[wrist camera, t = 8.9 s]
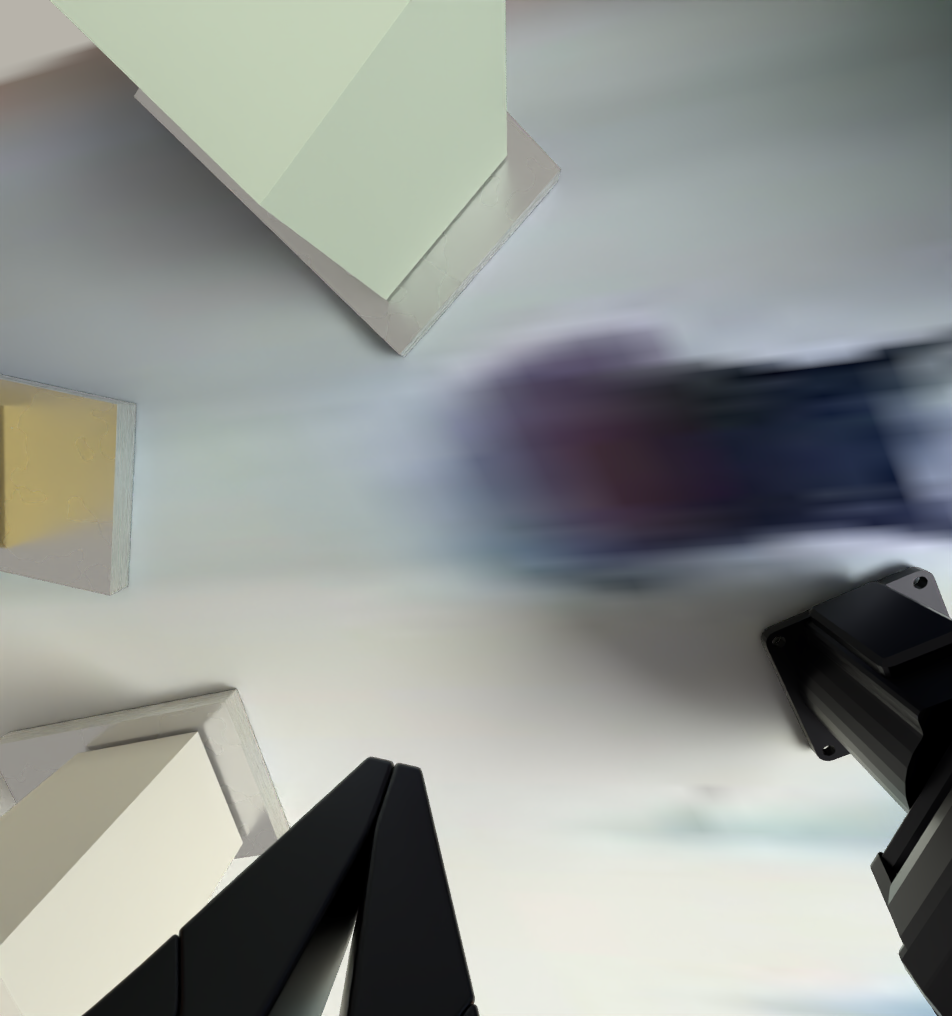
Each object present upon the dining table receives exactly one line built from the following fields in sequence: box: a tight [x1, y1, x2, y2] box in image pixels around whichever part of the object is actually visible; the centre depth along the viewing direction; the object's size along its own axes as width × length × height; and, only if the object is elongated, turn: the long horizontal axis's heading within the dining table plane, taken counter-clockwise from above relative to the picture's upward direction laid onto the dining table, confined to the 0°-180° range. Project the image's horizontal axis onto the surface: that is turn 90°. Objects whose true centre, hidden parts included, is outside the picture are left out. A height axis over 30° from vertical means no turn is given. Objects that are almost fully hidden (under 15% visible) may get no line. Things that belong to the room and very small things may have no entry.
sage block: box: [50, 0, 507, 300], centre depth 12 cm, size 6×6×9 cm
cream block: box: [0, 731, 243, 1016], centre depth 18 cm, size 6×6×9 cm
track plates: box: [0, 88, 561, 859], centre depth 20 cm, size 30×35×1 cm
